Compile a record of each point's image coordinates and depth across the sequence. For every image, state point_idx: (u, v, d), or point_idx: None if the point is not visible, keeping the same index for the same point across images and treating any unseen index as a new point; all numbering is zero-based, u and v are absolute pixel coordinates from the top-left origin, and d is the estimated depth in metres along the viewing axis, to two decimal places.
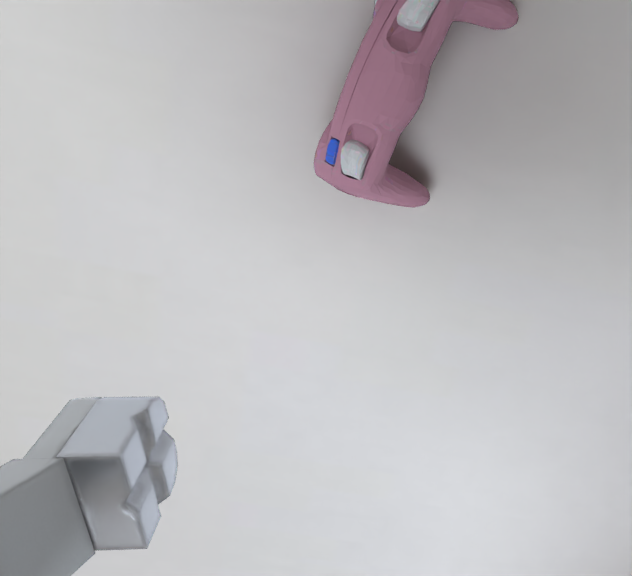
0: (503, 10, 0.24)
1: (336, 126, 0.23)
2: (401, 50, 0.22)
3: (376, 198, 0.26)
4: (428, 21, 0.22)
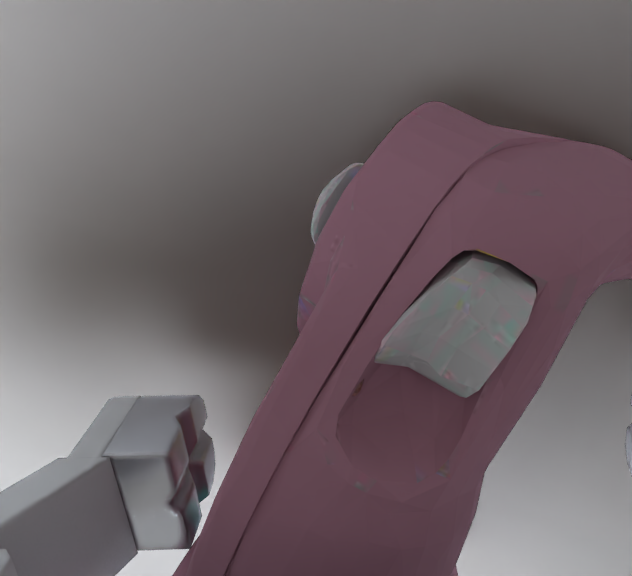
0: None
1: None
2: (392, 472, 0.06)
3: None
4: None
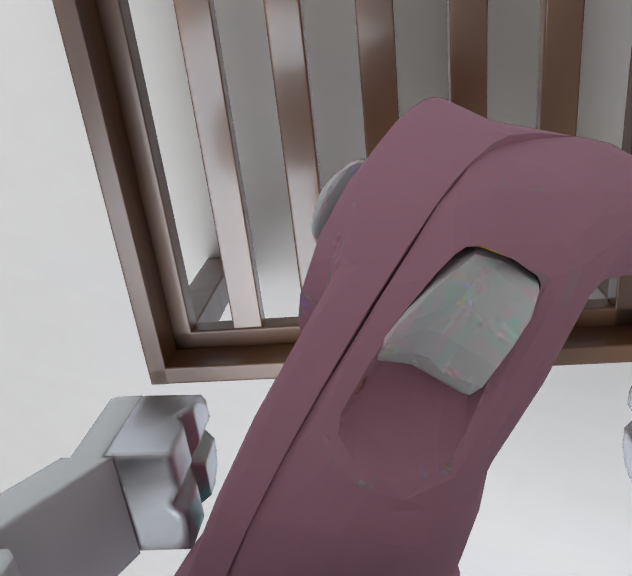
0: None
1: None
2: (396, 470, 0.06)
3: None
4: None
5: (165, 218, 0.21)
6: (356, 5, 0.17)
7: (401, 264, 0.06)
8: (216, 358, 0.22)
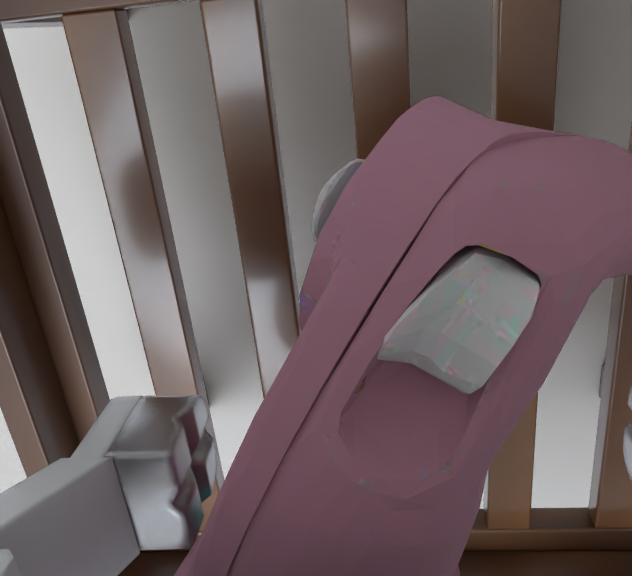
0: None
1: None
2: (396, 470, 0.06)
3: None
4: None
5: (91, 400, 0.15)
6: (357, 139, 0.12)
7: (401, 263, 0.06)
8: None
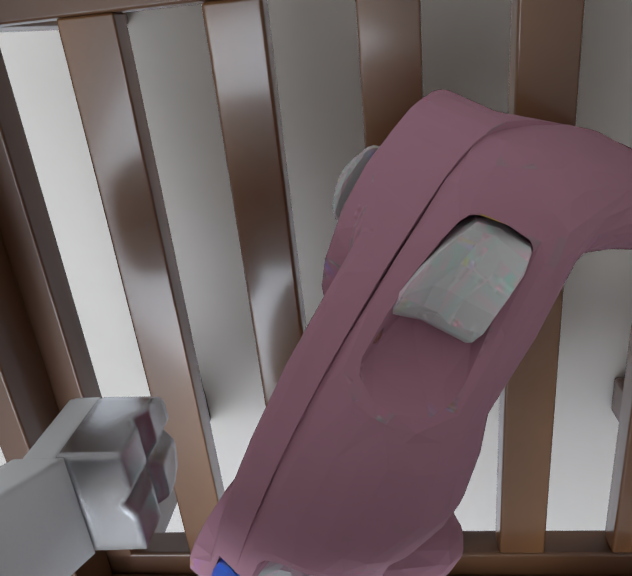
0: None
1: (228, 546, 0.09)
2: (409, 408, 0.07)
3: None
4: None
5: None
6: None
7: (414, 230, 0.07)
8: None
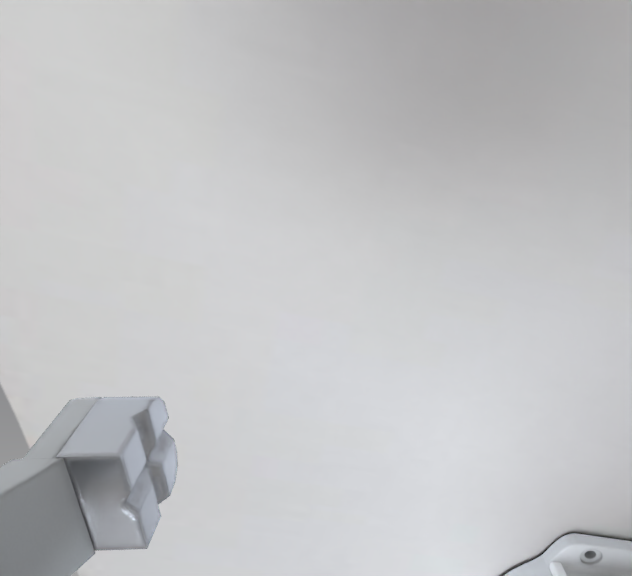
0: None
1: None
2: None
3: None
4: None
5: None
6: None
7: None
8: None
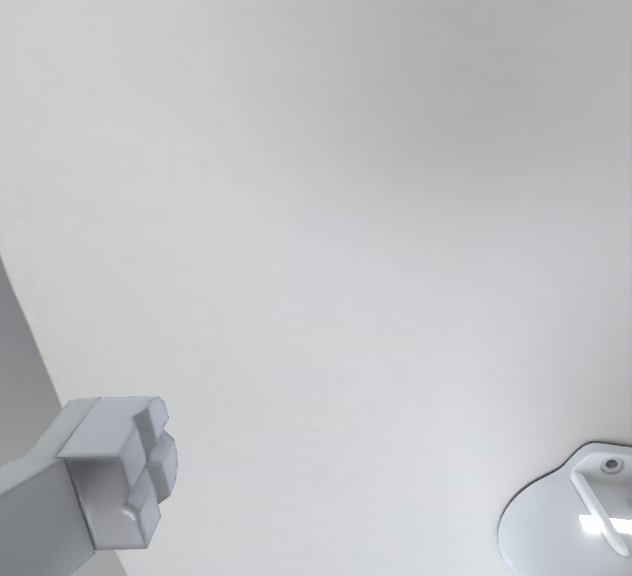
0: None
1: None
2: None
3: None
4: None
5: None
6: None
7: None
8: None
